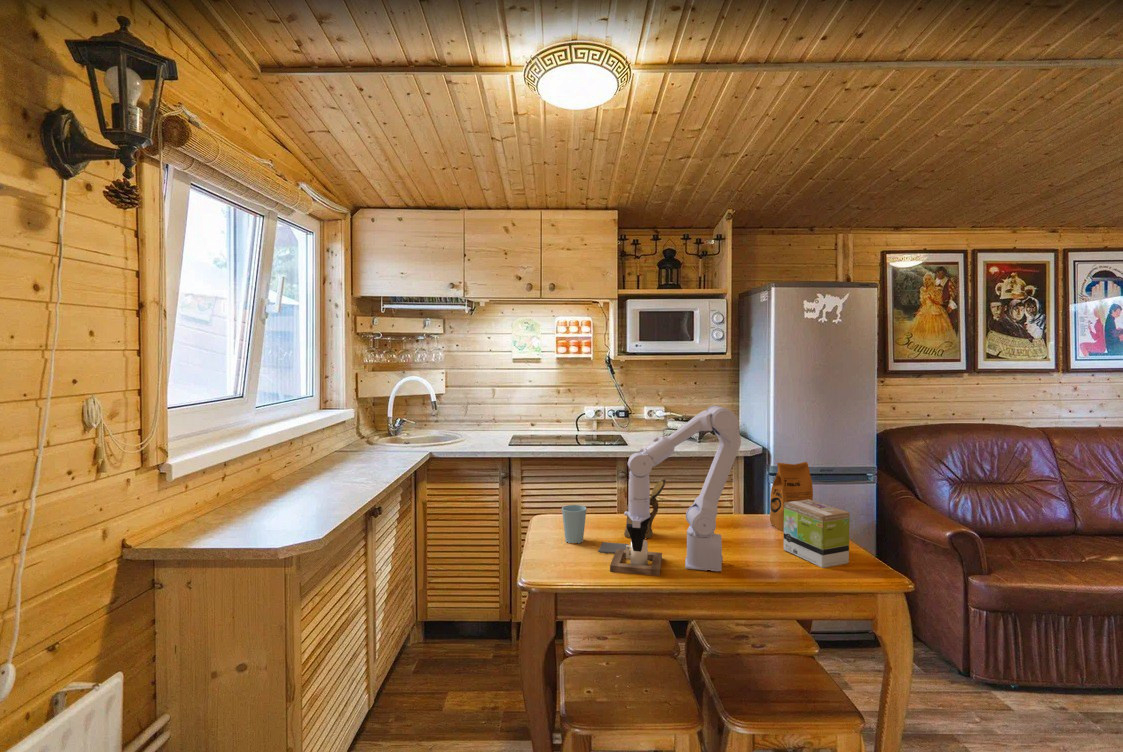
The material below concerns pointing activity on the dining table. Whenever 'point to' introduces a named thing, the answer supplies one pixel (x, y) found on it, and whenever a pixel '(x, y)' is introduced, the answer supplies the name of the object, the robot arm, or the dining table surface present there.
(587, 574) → the dining table surface
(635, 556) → the jug
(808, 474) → the coffee package
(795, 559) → the dining table surface
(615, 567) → the jug holder
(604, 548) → the mat
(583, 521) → the cup
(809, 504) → the tea box
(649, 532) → the wooden mug
